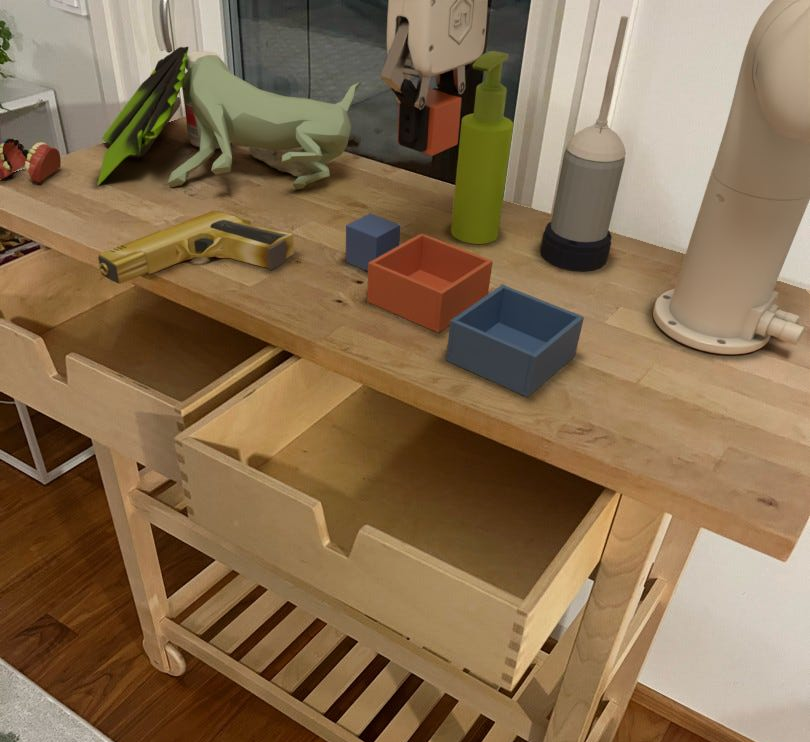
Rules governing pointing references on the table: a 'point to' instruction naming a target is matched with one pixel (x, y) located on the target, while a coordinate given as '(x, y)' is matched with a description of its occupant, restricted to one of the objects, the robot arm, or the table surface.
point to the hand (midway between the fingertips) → (428, 139)
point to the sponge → (275, 159)
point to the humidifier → (587, 188)
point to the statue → (260, 122)
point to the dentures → (28, 159)
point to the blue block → (370, 239)
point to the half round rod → (146, 147)
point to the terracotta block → (441, 121)
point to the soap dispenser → (483, 158)
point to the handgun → (198, 246)
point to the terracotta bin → (428, 281)
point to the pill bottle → (189, 111)
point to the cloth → (145, 111)
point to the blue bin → (513, 339)
